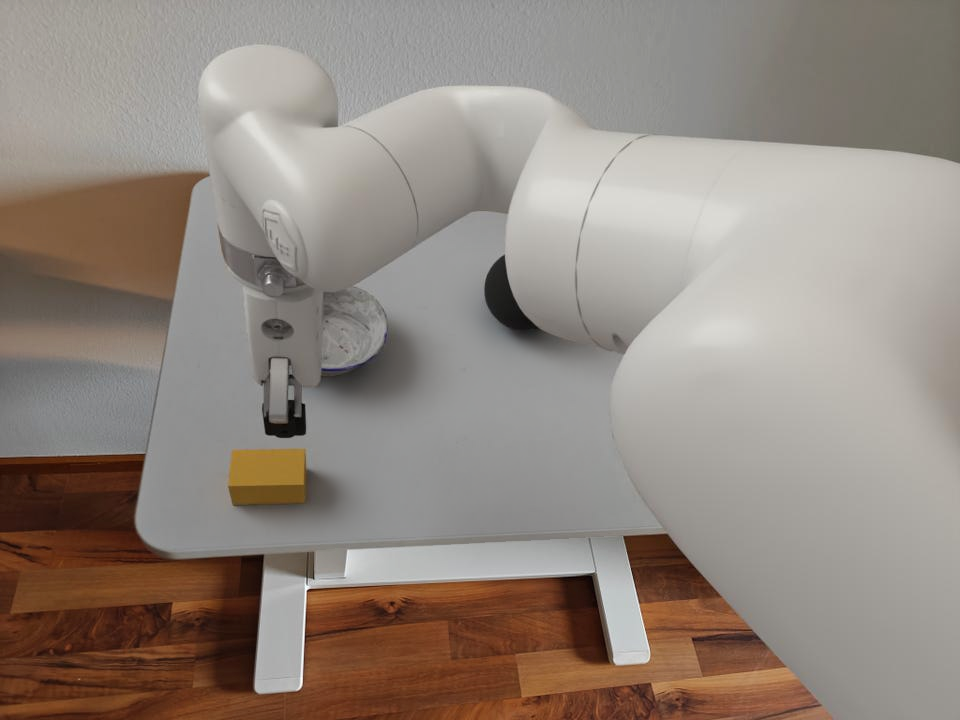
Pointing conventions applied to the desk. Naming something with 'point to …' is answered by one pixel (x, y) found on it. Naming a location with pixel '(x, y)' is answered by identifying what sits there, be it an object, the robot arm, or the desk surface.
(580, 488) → the desk surface
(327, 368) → the bowl
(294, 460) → the sponge
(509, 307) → the speaker
